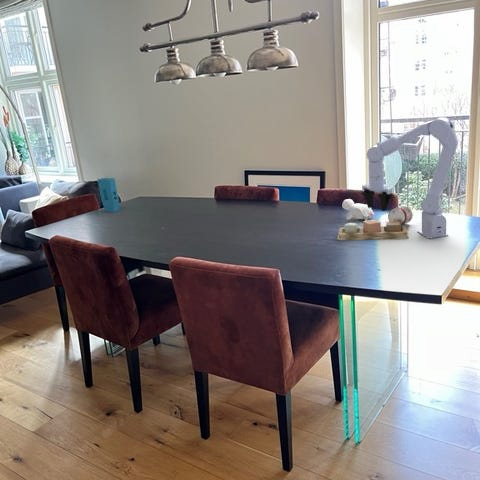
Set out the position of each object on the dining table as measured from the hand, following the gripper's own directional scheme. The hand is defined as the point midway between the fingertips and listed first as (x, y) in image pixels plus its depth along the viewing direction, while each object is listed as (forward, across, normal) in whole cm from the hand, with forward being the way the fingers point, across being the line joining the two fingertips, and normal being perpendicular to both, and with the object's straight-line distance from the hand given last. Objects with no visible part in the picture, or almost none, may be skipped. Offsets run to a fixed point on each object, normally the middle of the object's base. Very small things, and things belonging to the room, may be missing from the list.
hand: (377, 209), depth 192 cm
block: (+9, +153, +72) cm, 169 cm away
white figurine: (+10, +21, -8) cm, 24 cm away
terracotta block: (+9, -3, +6) cm, 11 cm away
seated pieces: (+9, -3, +6) cm, 11 cm away
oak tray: (+9, -3, +6) cm, 11 cm away
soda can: (+6, 0, -15) cm, 16 cm away
